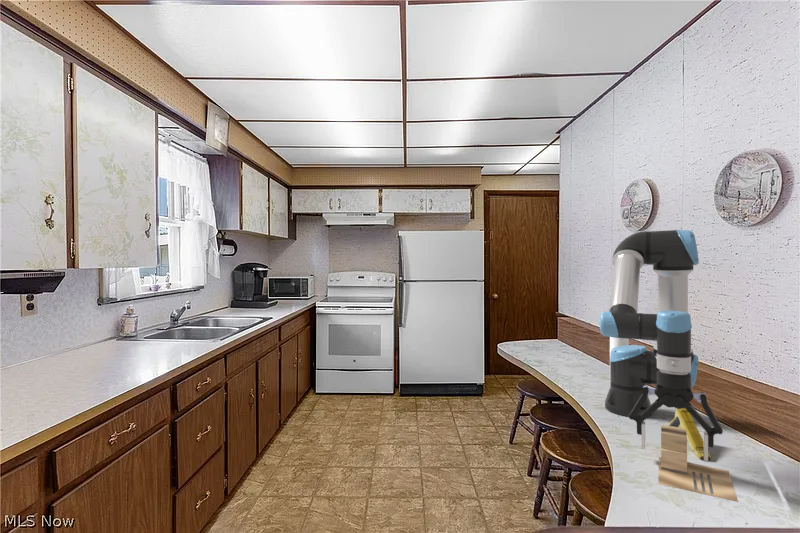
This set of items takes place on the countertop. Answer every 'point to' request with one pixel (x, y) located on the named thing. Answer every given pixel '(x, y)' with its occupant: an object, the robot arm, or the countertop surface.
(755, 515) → the countertop surface
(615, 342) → the cylindrical container
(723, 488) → the board
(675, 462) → the block
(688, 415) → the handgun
